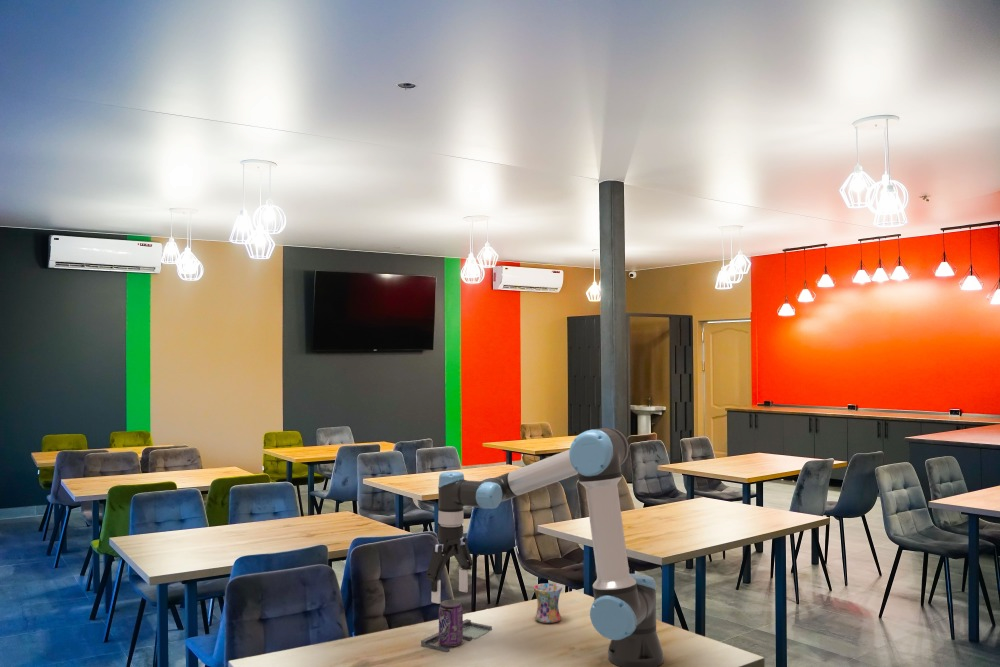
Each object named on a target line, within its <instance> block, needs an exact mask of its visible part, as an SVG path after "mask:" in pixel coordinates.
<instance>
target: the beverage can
mask: <svg viewBox="0 0 1000 667" xmlns="http://www.w3.org/2000/svg"><path fill="white" fill-rule="evenodd" d="M439 604H440V605H439V608H438V632H439V641H438V644H439V645H441V646H446V647H450V648H451V647H452V648H453V647H457V646H459V645H460V644H462V643H463V642H464V640H463V621H464V620H463V619H464V613H463V612H464V609H463V606H462V602H461V601H460V600H458V599H445V600H442V601H440V603H439Z"/></svg>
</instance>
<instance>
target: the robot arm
mask: <svg viewBox="0 0 1000 667" xmlns="http://www.w3.org/2000/svg"><path fill="white" fill-rule="evenodd" d="M629 452H630V451H629V443H628V440H627V438H626V436H625V435H624V434H623V433H622V432H620V431H619V430H618V429H616V428H612V427H603V428H595V429H589V430H585V431H583V432H581V433H579V434H578V435H577V436H576V437H575V438H574V439H573V441H572V442H571V445H570V446H569V449H566V450H564V451H562V452H559V453H556V454H553V455H552V456H551V455H550V456H548V457H546V458H543V459H541V460H538V461H536V462H533V463H531V464H528V465H525V466H522V467H520V468H517V469H514V470H512V471H509V472H506V473H504V474H501V475H499V476H495V477H492V478H488V479H483V480H468V479H465V476H464V473H463V472H460V471H444V472H441V473H440V474H439V477H438V487H437V490H438V491H437V492H438V508H437V509H438V515H437V516H438V518H437V519H438V521H437V523H438V524H439V525H437V537H438V539H440V544H437V543H436V544H435V543H434V544H433V547H432V555H431V557H430V561H429V564H428V568H427V571H426V574H425V578H426V580H430V592H431V596H430V597H431V603H434V604H440V603H441V593H442V592H441V590H442V589H441V588H442V587H441V586H442V585H441V583H442V582H441V581H442V580H441V579H440V578H441V574H442V573H443V570H444V568H445V566H446V563H447V562H448V561H449V560H450V558H452V557H454V558H455V560H456V562H457V563H458V566H460V569H458V573H459V574H458V591H459V592H463V593H468V591H469V590H468V588H469V585H468V582H469V581H468V579H469V571H470V570H472V566H473V565H474V563H473V559H472V556H471V552H470V549H469V546H468V539H467V537H465V536H464V526H463V524H464V523H465V522H464V507H470V508H471V507H472V508H478V509H479V508H480V509H484V510H487V509H497V508H498V507H499V505H500V504H501V502H506V501H509V500H511V499H513V498H515V497H518V496H522V495H524V494H526V493H529V492H532V491H535V490H538V489H540V488H543V487H546V486H549V485H551V484H555V483H557V482H560V481H563V480H565V479H568V478H571V477H574V476H577V478H578V483H579V484H580V485H581V486H583V487H584V490H585V495H586V502H587V509H588V510H587V511H588V515H589V524H590V532H591V538H592V539H591V540H592V547H593V548H592V549H593V555H594V563H595V570H596V571H595V572H596V580H595V581H594V582H593V584H592V591H593V597H594V598H593V599H594V601H593V602H592V604H591V606H590V609H589V618H590V621H591V624H592V626H593V628H594V629H595V631H597V633H599V634H600V635H601V636H602V637H604V638H606V639H608V640H610V643H609V645H608V650H607V658H608V660H609V661H610V663H612V664H614V665H616V666H618V667H659V666H661V665H662V664H663V663H664V650H663V648H662V644H661V642H660V639H659V635H658V633H657V587H656V580H655V579H654V578H653V577H652V576H649V575H646V574H638V573H630V570H629V569H630V568H629V562H628V561H629V560H628V554H627V546H626V539H625V532H624V524H623V517H622V516H623V515H622V511H621V503H620V502H621V501H620V496H619V494H620V493H619V489H618V484H619V482H620V481H621V479H623V478H622V477H623V475H622V466H621V465H623V464H624V463H625V461H626V460H627V458H628V455H629Z"/></svg>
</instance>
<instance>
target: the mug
mask: <svg viewBox="0 0 1000 667" xmlns="http://www.w3.org/2000/svg"><path fill="white" fill-rule="evenodd" d="M533 590H534V592H535V596H536V599H537V600H536V601H537V602H536V603H537V608H536V614H535V616H534V619H535V620H536V621H537V622H540V623H543V624H545V623H546V624H552V623H557V622H559V621H561V620H562V616H561V614H560V610H559V601H560V595H561V592H562V590H563V586H562V585H560V584H558V583H557V584H556V583H550V582H549V583H547V582H546V583H539V584H535V585H534V586H533Z"/></svg>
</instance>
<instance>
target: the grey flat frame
mask: <svg viewBox="0 0 1000 667" xmlns="http://www.w3.org/2000/svg"><path fill="white" fill-rule="evenodd" d="M492 630H493V626H491V625H487V624H482V623H477V622H473V621H472V620H471V619H464V620H463V641H468V642H470V641H472V640H477V639H478V638H480V637H482V636H485V635H486V634H489V632H490V631H492ZM436 642H439V631H438V632H437V633H434V634H432V635H430V636H427V637H426V638H423V639H422V640H420V646H421V647H424V648H428V649H432V650H436V651H441V652H444V653H449V652H450V651H451V647H446V646H443V645H442V644H437V643H436Z"/></svg>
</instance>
